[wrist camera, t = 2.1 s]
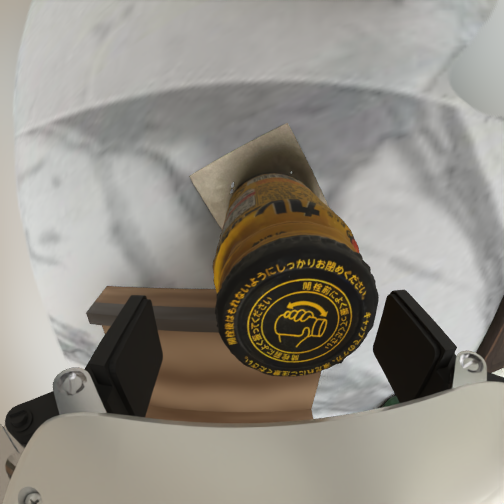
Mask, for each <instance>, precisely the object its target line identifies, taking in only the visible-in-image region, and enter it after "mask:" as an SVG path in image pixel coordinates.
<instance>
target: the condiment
mask: <svg viewBox="0 0 504 504" xmlns="http://www.w3.org/2000/svg"><path fill="white" fill-rule="evenodd" d="M291 171H292V172H293V173H292V174H291V173H290V172H291ZM189 177H190V178H191V180H192V182H193V184H194V185H195V187H196V189H197V190H198V192H199V193H200V195H201V197H202V199H203V200H204V202H205V204H206V205H207V206H208V208H209V210H210V212H211V213H212V215H213V217H214V218H215V220H216V221H217V223H218V224H219V226H220V228H221V229H222V233H221V235H220V240H219V243H218V246H217V250H216V256H215V258H214V261H213V273H214V285H215V288H216V292H217V297H216V299H217V301H216V305H215V315H216V321H217V327H218V332H219V334H220V337H221V339H222V340H223V342H224V344H225V345H226V346H227V348H228V349H229V350H230V352H231V354H233V355H234V356H235V357H236V358H237V359H238V360H239V361H240V362H241V363H242V364H243V365H245V366H247V367H250V368H253V369H255V370H258V371H260V372H262V373H264V374H267V375H271V376H287V377H294V376H302V375H308V374H314V373H317V372H320V371H322V370H324V369H328V368H330V367H332V366H333V365H335V364H339V363H342V362H343V360H344V359H345V358H346V357H347V356H348V355H350V354H351V353H353V352H354V351H355V350H356V349H357V348H358V347H359V346H360V344H361V343H362V342H363V340H364V339H365V337H366V336H367V334H368V332H369V331H370V330H371V329H372V327H373V324H374V320H375V316H376V310H377V305H378V292H377V289H376V285H375V280H374V277H373V275H372V274H371V272H370V267H369V266H368V265H367V264H366V263H365V262H364V261H363V260H362V256H361V254H360V253H359V248H358V245H357V243H356V241H355V239H354V237H353V234H352V232H351V230H350V229H349V228H348V226H347V225H346V224H345V223H344V221H343V220H342V219H341V218H340V217H338V216H337V215H336V214H335V213H334V212H333V211H332V210H331V209H330V208H329V206H328V204H327V202H326V200H325V198H324V195H323V193H322V191H321V189H320V187H319V185H318V182H317V180H316V178H315V176H314V174H313V172H312V169H311V168H310V166H309V164H308V162H307V160H306V157H305V156H304V154H303V152H302V150H301V148H300V146H299V144H298V142H297V140H296V138H295V136H294V134H293V132H292V130H291V128H290V127H289V125H288V123H286V124H284V125H282V126H280V127H278V128H276V129H274V130H272V131H270V132H268V133H266V134H264V135H262V136H260V137H258V138H256V139H254V140H252V141H250V142H248V143H247V144H245V145H243V146H241V147H239V148H237V149H235V150H234V151H232V152H230V153H228V154H226V155H225V156H223V157H221V158H219V159H217V160H216V161H214V162H212V163H210V164H209V165H207V166H205V167H204V168H202V169H200V170H199V171H197V172H195V173H194V174H192V175H190V176H189ZM232 182H234V187H233V188H231V183H232ZM231 189H233V193H231V194H230V191H231Z"/></svg>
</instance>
